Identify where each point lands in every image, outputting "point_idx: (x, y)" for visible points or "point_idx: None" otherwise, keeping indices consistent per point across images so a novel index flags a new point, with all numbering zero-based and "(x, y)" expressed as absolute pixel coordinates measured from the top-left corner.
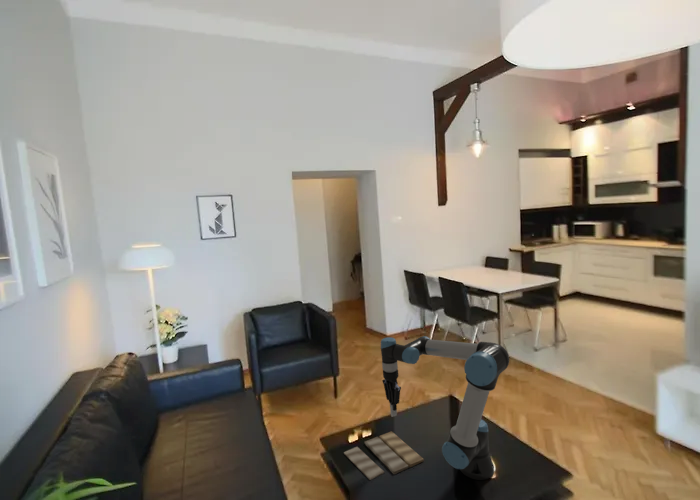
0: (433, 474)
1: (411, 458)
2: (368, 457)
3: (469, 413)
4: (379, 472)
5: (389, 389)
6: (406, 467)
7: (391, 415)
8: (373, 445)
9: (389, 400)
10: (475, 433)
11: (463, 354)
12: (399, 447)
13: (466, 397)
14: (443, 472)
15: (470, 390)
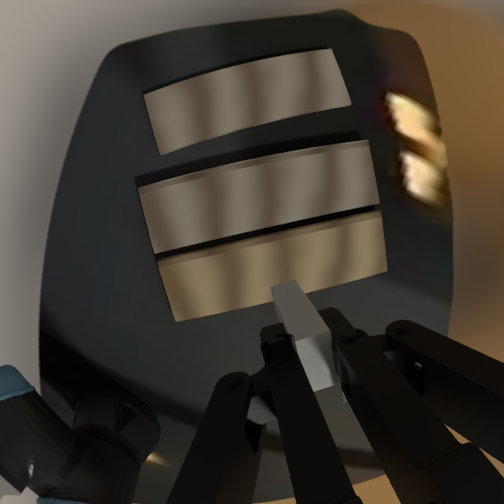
0: (111, 316)
1: (191, 282)
2: (266, 120)
3: None
4: (162, 135)
5: (416, 479)
6: (153, 244)
7: (286, 284)
8: (330, 164)
9: (352, 345)
10: None
11: None
12: (275, 263)
13: None
14: (114, 347)
15: None
